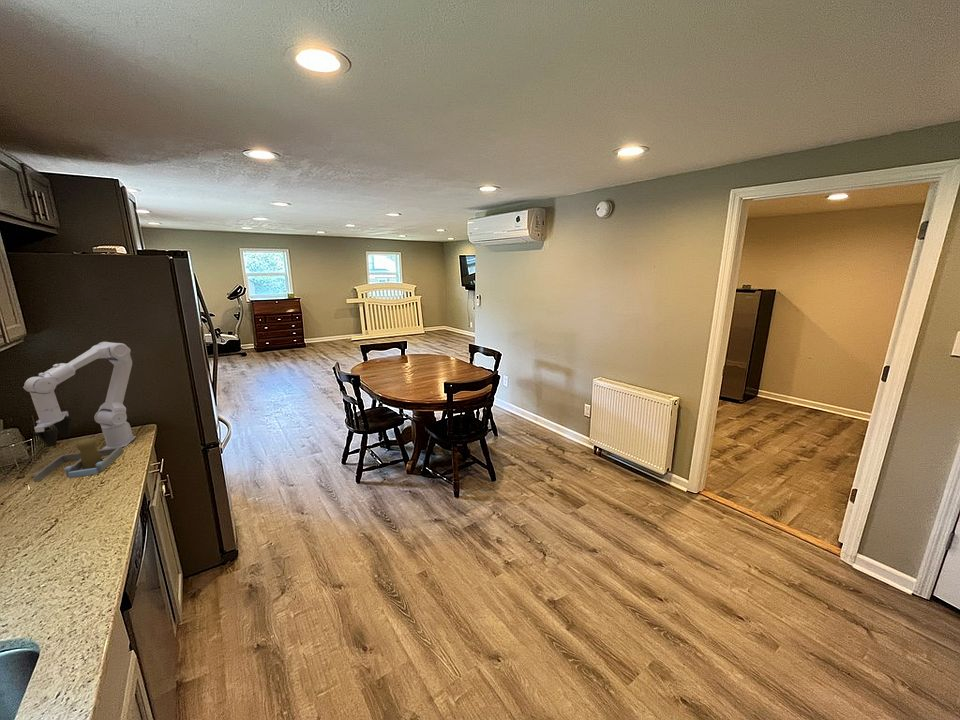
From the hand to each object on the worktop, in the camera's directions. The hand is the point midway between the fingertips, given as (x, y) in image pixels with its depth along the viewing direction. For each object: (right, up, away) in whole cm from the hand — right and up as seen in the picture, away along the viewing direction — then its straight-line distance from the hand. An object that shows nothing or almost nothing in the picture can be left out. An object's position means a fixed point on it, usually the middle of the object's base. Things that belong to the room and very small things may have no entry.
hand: (59, 441), depth 143 cm
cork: (+10, -10, +3) cm, 15 cm away
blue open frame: (+6, -10, +2) cm, 12 cm away
